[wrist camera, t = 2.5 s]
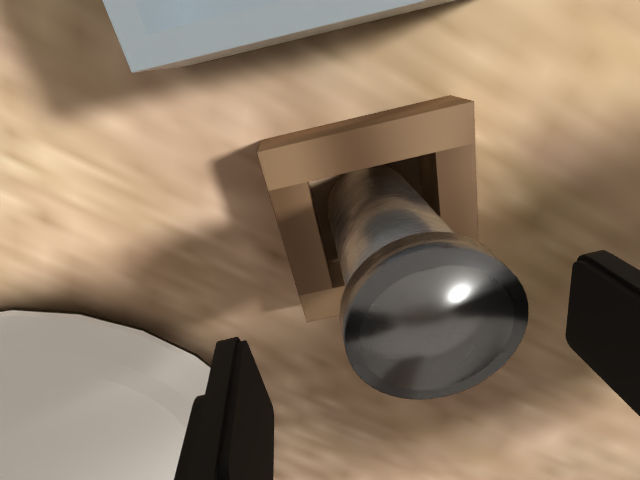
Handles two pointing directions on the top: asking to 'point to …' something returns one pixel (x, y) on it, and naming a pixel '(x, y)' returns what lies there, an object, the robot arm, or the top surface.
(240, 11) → the bin
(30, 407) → the plate
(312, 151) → the socket block
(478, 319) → the peg
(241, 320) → the top surface
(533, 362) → the top surface
